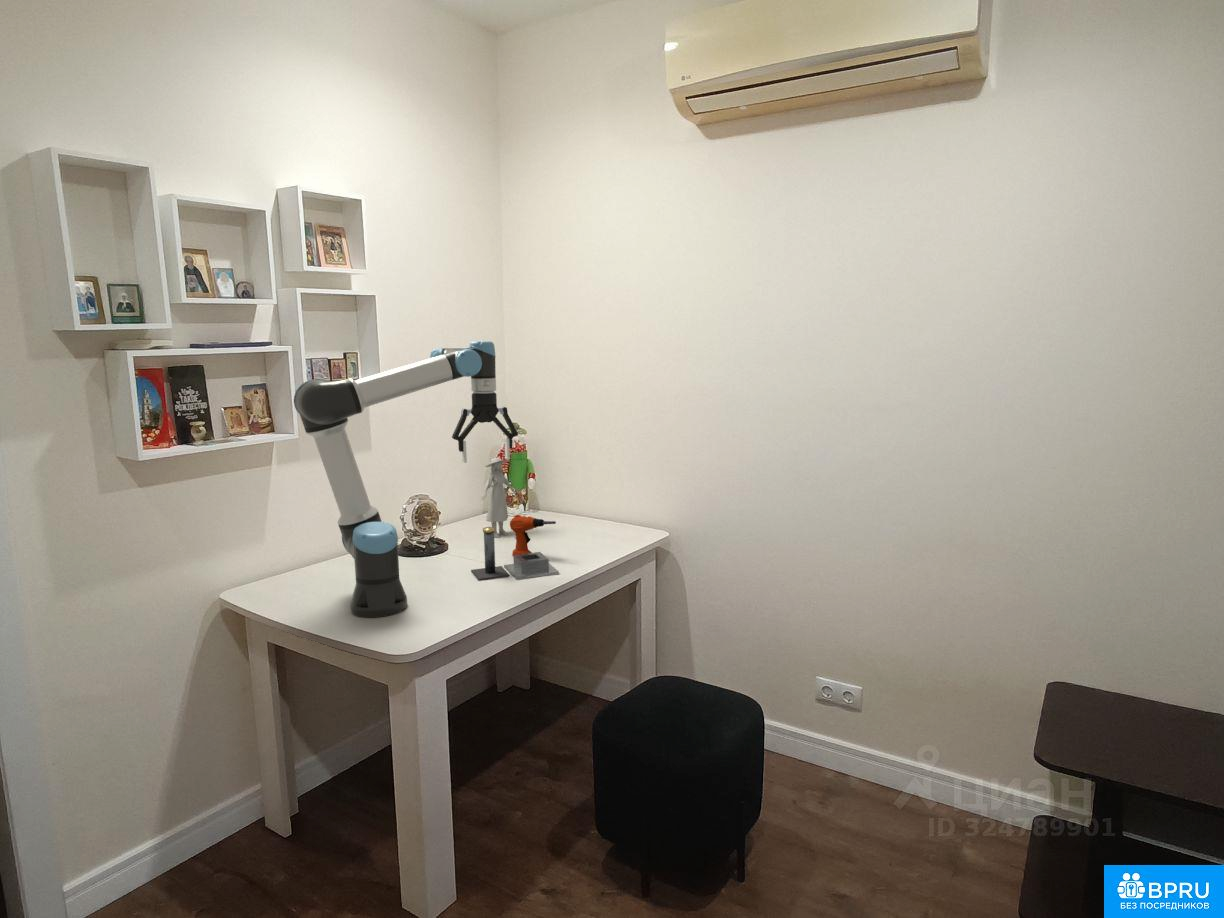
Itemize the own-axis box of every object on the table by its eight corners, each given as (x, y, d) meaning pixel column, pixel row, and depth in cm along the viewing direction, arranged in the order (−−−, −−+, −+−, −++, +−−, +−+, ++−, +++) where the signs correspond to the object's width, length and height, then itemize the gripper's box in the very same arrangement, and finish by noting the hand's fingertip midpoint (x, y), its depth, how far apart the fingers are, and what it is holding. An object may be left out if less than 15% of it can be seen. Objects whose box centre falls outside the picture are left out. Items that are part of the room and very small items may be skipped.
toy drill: (556, 559, 253) (550, 515, 251) (510, 559, 261) (504, 516, 260) (563, 555, 257) (558, 512, 255) (518, 555, 266) (512, 513, 264)
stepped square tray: (516, 579, 237) (515, 565, 236) (504, 567, 250) (503, 554, 249) (558, 573, 242) (558, 560, 242) (544, 562, 255) (544, 549, 254)
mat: (478, 580, 236) (478, 578, 236) (471, 571, 245) (471, 569, 245) (509, 576, 240) (509, 574, 240) (501, 567, 249) (501, 565, 249)
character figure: (490, 541, 280) (487, 461, 275) (475, 538, 285) (472, 459, 280) (522, 532, 293) (520, 455, 288) (507, 529, 298) (505, 453, 293)
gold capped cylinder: (485, 574, 240) (484, 530, 238) (482, 571, 244) (481, 527, 241) (497, 573, 242) (496, 529, 239) (494, 569, 245) (493, 526, 243)
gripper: (445, 394, 225) (448, 465, 228) (526, 391, 235) (528, 459, 238) (440, 392, 232) (443, 461, 235) (519, 389, 241) (521, 455, 245)
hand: (486, 460), depth 237 cm, fingers open, 13 cm apart
